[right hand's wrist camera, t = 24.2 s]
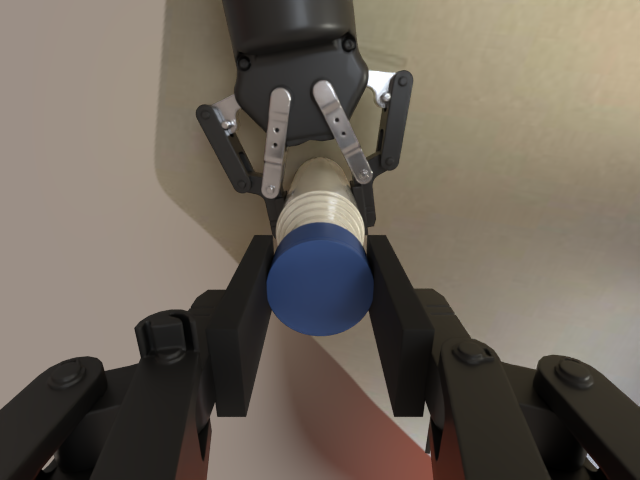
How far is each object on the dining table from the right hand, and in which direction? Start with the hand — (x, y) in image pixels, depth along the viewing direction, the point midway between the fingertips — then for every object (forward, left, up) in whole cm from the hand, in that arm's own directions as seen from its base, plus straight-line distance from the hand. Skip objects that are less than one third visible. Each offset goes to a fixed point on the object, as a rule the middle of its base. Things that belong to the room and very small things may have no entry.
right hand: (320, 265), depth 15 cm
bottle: (0, 0, -17) cm, 17 cm away
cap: (0, 0, +2) cm, 2 cm away
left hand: (+1, +2, -11) cm, 11 cm away
